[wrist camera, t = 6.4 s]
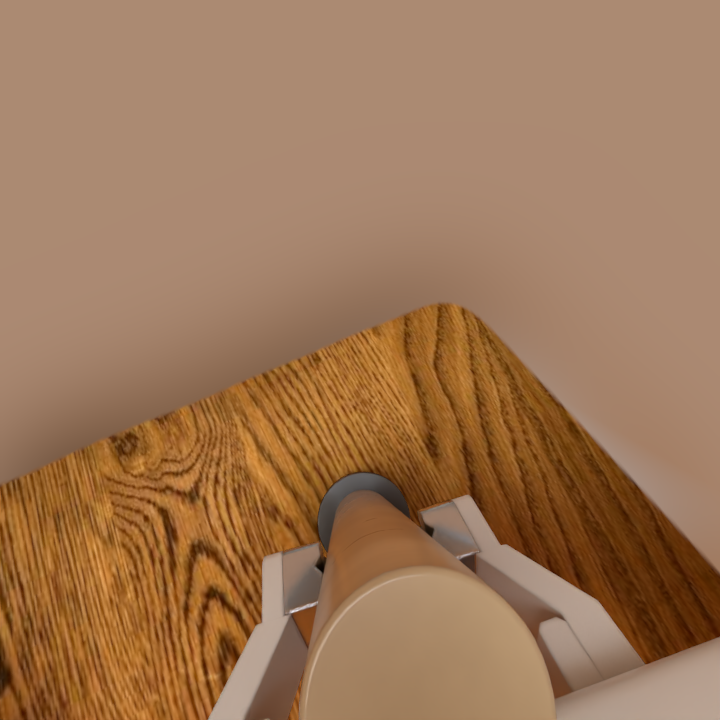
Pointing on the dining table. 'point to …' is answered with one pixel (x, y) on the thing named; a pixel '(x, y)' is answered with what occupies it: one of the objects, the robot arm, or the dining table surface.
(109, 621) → the dining table surface
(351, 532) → the plunger
